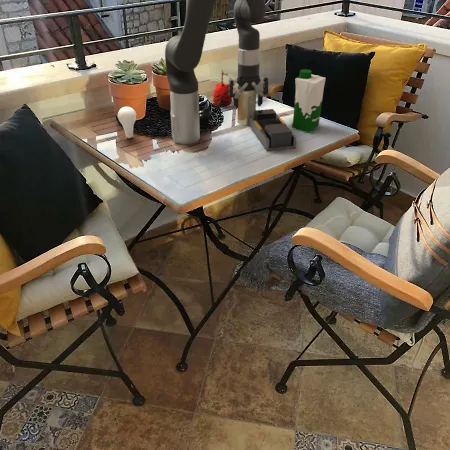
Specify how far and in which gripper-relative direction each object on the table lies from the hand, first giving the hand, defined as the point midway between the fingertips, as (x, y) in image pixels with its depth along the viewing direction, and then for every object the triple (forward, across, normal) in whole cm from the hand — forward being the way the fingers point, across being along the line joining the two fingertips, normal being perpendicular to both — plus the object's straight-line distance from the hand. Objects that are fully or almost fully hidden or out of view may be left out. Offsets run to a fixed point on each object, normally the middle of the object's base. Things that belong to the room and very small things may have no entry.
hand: (247, 106), depth 172 cm
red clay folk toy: (+6, -6, +18) cm, 20 cm away
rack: (+6, +5, -15) cm, 16 cm away
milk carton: (+6, +19, -9) cm, 22 cm away
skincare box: (+6, 0, 0) cm, 6 cm away
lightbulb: (+5, -43, -5) cm, 44 cm away
